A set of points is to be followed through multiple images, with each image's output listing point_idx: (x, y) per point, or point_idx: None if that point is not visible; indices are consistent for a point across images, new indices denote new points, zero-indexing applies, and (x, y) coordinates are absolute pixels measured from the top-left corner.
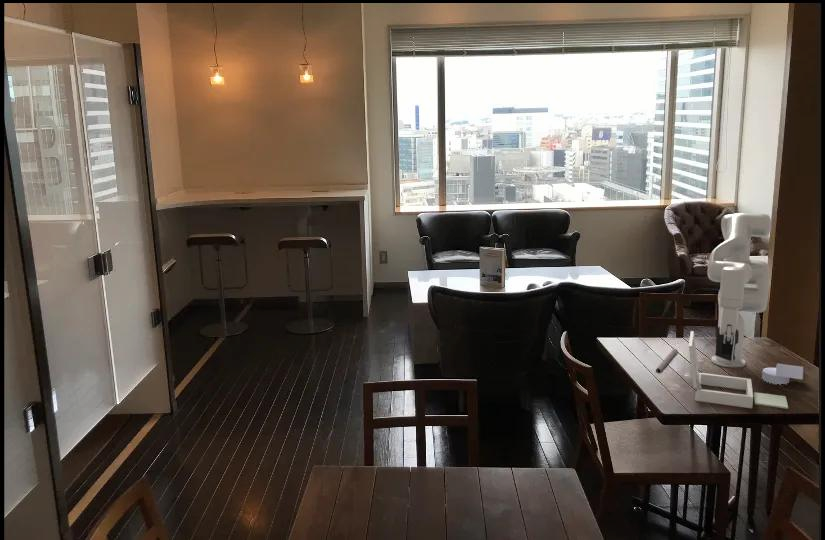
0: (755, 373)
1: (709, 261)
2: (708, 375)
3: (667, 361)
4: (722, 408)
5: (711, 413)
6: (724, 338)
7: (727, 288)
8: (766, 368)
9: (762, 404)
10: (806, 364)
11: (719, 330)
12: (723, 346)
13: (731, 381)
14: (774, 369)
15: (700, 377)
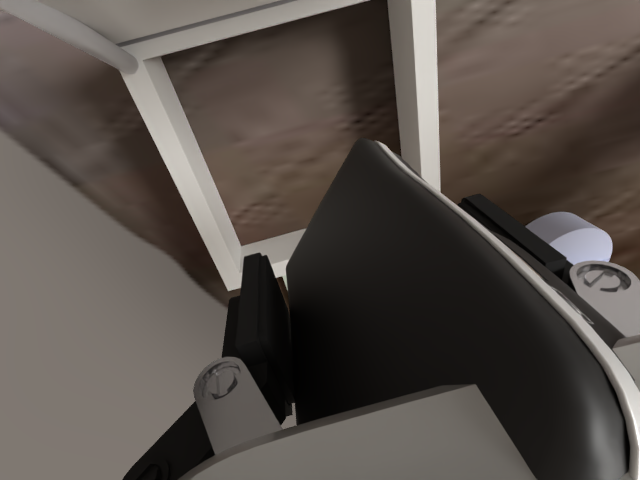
0: (600, 183)
1: None
2: (412, 40)
3: None
4: (142, 181)
5: (40, 158)
6: (215, 443)
7: None
8: (599, 235)
9: (284, 280)
10: None
11: (487, 392)
12: (243, 319)
13: (413, 157)
14: (592, 258)
15: (346, 2)
